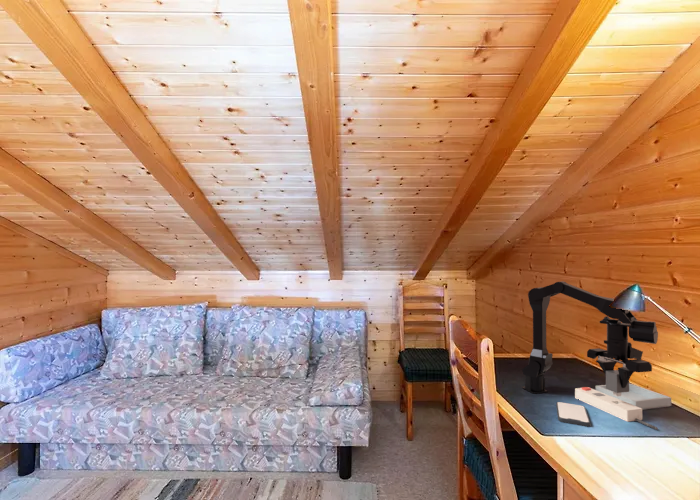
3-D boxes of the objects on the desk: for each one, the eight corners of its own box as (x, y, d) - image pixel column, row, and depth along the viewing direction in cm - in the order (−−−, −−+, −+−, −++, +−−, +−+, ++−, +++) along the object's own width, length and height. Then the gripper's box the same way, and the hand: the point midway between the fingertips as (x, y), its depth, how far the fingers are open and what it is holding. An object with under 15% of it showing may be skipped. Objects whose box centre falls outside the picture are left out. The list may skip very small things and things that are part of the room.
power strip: (665, 429, 113) (665, 415, 113) (649, 431, 111) (649, 417, 111) (588, 396, 139) (588, 385, 139) (575, 398, 137) (575, 386, 137)
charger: (629, 397, 123) (629, 373, 123) (616, 398, 122) (616, 374, 122) (617, 392, 127) (617, 369, 127) (605, 394, 126) (605, 370, 126)
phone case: (555, 405, 132) (557, 422, 118) (555, 401, 132) (557, 417, 118) (585, 410, 128) (591, 428, 114) (585, 405, 128) (591, 423, 114)
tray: (636, 410, 127) (636, 401, 127) (595, 393, 142) (595, 385, 142) (671, 406, 130) (671, 397, 130) (628, 390, 145) (628, 382, 146)
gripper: (665, 343, 118) (665, 393, 117) (610, 331, 136) (611, 375, 135) (637, 345, 115) (637, 396, 115) (585, 333, 133) (585, 377, 133)
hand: (617, 385), depth 124 cm, fingers closed on charger, 4 cm apart
